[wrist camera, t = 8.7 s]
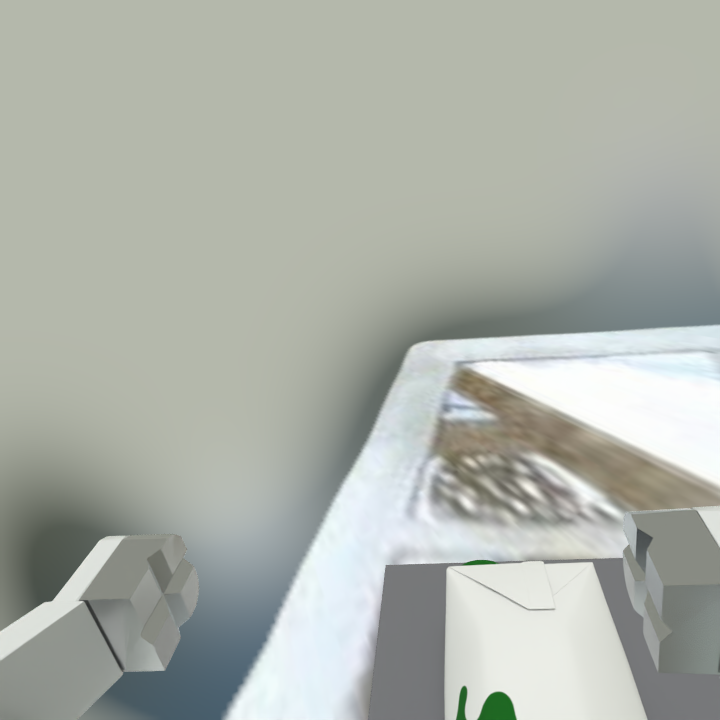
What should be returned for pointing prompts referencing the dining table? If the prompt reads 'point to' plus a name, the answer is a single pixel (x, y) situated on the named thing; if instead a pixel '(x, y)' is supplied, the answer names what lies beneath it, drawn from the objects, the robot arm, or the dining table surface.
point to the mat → (427, 649)
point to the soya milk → (533, 645)
